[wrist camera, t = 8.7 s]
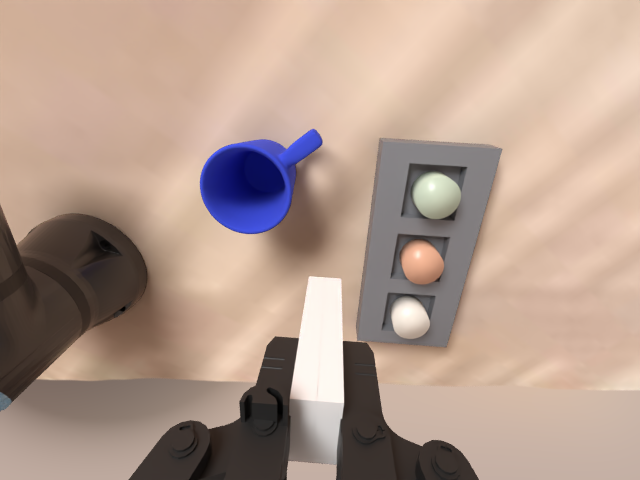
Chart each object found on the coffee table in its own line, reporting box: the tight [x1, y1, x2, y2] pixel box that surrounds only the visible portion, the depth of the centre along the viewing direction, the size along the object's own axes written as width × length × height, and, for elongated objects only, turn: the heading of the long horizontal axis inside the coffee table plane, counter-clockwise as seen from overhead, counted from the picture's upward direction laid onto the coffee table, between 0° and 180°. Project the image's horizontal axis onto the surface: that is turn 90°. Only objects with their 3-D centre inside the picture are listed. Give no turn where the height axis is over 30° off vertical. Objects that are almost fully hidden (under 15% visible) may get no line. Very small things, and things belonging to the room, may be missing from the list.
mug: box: [200, 129, 323, 234], centre depth 32 cm, size 8×12×10 cm
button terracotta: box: [399, 239, 444, 284], centre depth 37 cm, size 4×4×3 cm
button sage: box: [410, 171, 461, 219], centre depth 34 cm, size 4×4×3 cm
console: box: [356, 138, 502, 347], centre depth 39 cm, size 12×26×3 cm, turn 177°
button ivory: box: [390, 296, 430, 339], centre depth 40 cm, size 4×4×3 cm
